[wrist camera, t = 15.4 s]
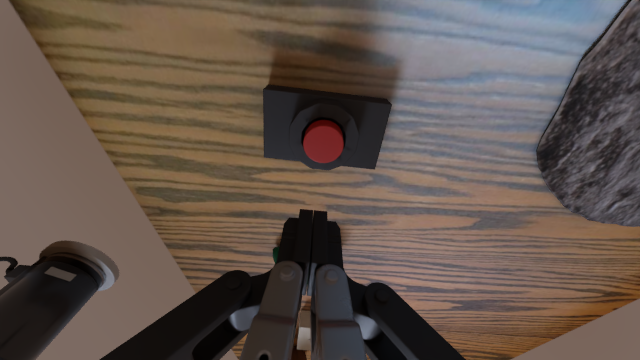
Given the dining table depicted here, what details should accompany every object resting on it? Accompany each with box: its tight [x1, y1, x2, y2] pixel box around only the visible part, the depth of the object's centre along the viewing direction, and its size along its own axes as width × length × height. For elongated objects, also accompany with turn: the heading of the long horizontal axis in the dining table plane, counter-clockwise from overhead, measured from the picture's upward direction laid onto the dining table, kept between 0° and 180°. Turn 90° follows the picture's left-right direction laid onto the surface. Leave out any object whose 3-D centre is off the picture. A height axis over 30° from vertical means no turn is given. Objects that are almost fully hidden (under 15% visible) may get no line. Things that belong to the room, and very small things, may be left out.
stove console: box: [297, 310, 311, 351], centre depth 45 cm, size 12×8×3 cm
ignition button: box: [303, 120, 344, 163], centre depth 22 cm, size 4×4×2 cm
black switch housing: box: [263, 85, 392, 170], centre depth 24 cm, size 12×7×4 cm, turn 84°
